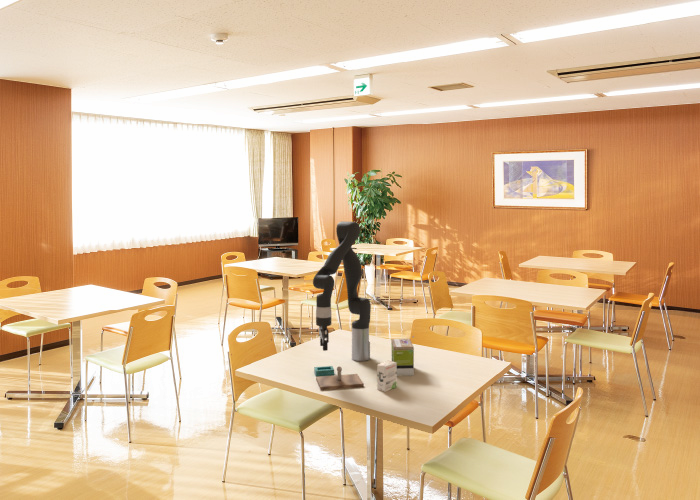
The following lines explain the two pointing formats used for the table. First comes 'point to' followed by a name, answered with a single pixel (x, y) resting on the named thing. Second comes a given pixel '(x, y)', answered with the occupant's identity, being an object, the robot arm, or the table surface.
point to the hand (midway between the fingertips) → (323, 348)
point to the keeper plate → (339, 381)
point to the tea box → (403, 356)
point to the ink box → (386, 375)
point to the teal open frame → (324, 371)
